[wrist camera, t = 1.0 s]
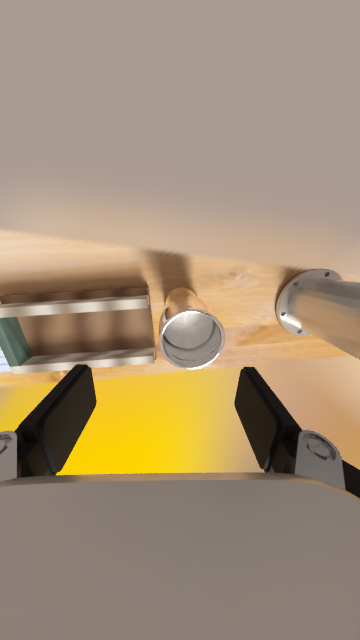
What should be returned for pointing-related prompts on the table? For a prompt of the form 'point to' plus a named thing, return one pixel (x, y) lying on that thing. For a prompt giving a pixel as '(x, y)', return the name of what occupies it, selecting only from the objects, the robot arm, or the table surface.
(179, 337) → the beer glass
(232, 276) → the table surface
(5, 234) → the table surface
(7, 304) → the track board
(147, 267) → the table surface
